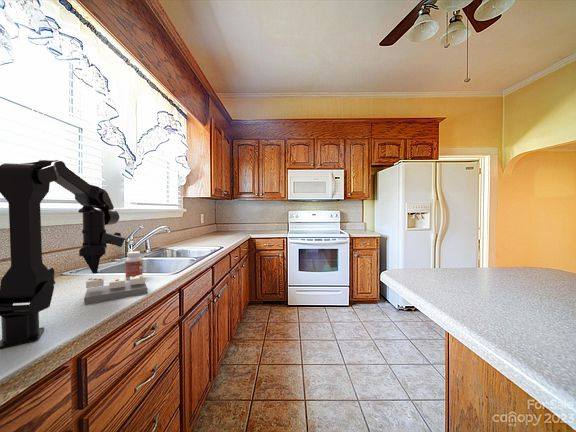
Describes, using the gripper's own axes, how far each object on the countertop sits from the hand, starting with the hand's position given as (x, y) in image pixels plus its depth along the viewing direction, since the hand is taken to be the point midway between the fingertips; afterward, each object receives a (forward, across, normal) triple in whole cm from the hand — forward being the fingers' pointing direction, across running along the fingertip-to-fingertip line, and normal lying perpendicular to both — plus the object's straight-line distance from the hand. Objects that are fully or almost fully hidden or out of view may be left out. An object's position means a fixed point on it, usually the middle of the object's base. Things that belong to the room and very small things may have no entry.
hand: (95, 273), depth 82 cm
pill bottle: (+8, +20, -12) cm, 25 cm away
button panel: (+8, 0, -6) cm, 10 cm away
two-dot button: (+5, 0, -12) cm, 13 cm away
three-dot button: (+4, 0, 0) cm, 4 cm away
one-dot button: (+5, 0, -6) cm, 8 cm away
